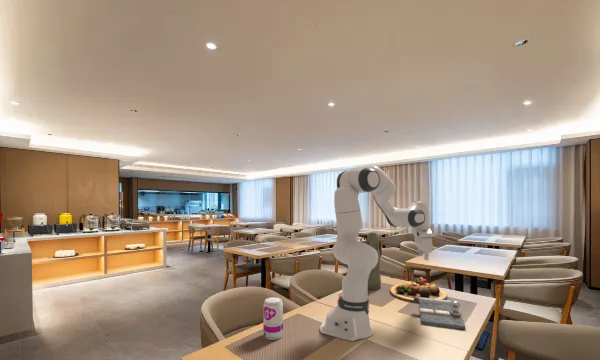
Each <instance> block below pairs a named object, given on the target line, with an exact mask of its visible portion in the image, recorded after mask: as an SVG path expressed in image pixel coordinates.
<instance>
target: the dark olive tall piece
mask: <svg viewBox="0 0 600 360" xmlns="http://www.w3.org/2000/svg"><path fill="white" fill-rule="evenodd" d="M363 243H365V244H368V245H369V246H371V247H373V248H374V249H375V250H376V251H377V253H378V263H377V265H376V266H375V267H374V268H373V269H372V270H371V272H370V274H369V278H368V290H373V291H378V290H381V289H382V287H381V285H382V277H381V274H380V273H381V270H380V269H381V267H380V265H381V264H380V262H381V257H382V255H383V250H382V247H383V245H382V244H383V243H382V241H381V240H380V237H379V234H378V233H377V232H369V233H368V234H367V236H366V240H365V241H364V242H363Z"/></svg>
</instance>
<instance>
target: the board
mask: <svg viewBox="0 0 600 360" xmlns="http://www.w3.org/2000/svg"><path fill="white" fill-rule="evenodd" d="M419 312H420V314H419V315H420V323H421V325H425V326H433V327H440V328H447V329H448V328H449V329H454V330H455V329H456V330H461V331H466V325H465V322H464V320H463V317H462V315H463V313H462V312H461V311H460V307H454V306H450V305H442V304H433V303H424V302H420V303H419Z"/></svg>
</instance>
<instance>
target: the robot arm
mask: <svg viewBox="0 0 600 360" xmlns="http://www.w3.org/2000/svg"><path fill="white" fill-rule="evenodd" d="M396 190H397V188H396V184H395V183H394V181H393V180H392V179H391V178H390V176H389V175H388V174H387V173H386V172H385V171H384V170H382V169H381V168H380V167H378V166H377V165H369V166H367V167H364V168H353V169H349V170H344V171H341V172H340V173H339V174H338V175H337V178H336V189H335V191H334V197H333V198H334V199H333V202H334V204H333V205H334V214H335V219H336V226H337V227H336V229H337V233H336V235H337V236H336V242H335V243H334V244H333V246H332V254H333V257H334V258H335V259H336V260H338V261H339V262H340V263H342V264H345V265H347V273H346V275H345V276H344V277H343V278H342V280H341V288H342V289H341V290H342V291H341V293H342V294H340V295H339V296H338V299H337V305H336V306H335V307H334V308H332V309H331V310H329V311H328V312H327V314H326V316H325V320H324V321H323V322H322V323H321V324H320V326H319V327H320V328H319V331H320V333H321V334H324V335H328V336H331V337H334V338H338V339H342V340H345V341H349V342H356V341H358V340H362V339H363V340H364V339H367V338H369V337H371V336H372V335H373V330H372V325H371V322H370V314H369V312H370V300H369V296H368V294H369V293H368V290H369V289H368V278H369V274H370V272H371V270H372V269H373V268H374V267H375V266H376V265H377V263H378V253H377V251H376V250H375V249H374V248H373V247H371V246H369V245H368V244H365V243H364V242H360V241H359V235H360V231H361V230H362V229H363V219H362V212H361V206H360V202H359V195H360V194H362V193H372V195H373V200H374V202H375V203H376V205H377V207H378V208H379V210H381V212H382V213H383V215H384V217H385V219H386V222H387V223H388V225H390V226H391V227H393V228H398V227H401V228H412V235H413V236H414V246H415V247H416V248H417V251H418V255H419V257H423V259H424V260H425V261H429V256H430V254H431V253H432V252H433V237H434V233H433V232H432V230H431V224H430V210H429V206H428V203H427V202H425V201H422V200H421V201H420V200H413V201H411V205H410V206H408V207H407V208H399V207H394V206H393V204H391V202H390V200H391V199H393V197H394V195H395V194H396Z"/></svg>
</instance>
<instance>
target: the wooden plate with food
mask: <svg viewBox="0 0 600 360" xmlns="http://www.w3.org/2000/svg"><path fill="white" fill-rule="evenodd" d="M389 292H390V294H391V296H393V297H394V298H396V299H398V300H401V301H404V302H409V303H414V304H420V302H414V296H415V297H422V298H431V299H440V300H448V299H447V298H448V294H447V292H445V291H444V289H441V288H439V286H438V285H437V284H435V283H432V284H431V283H429V282H425V279H424V278H423V277H422V276H419V277H418V278H416V279H415V282H413V281H411V280H410V281H406V282H405V283H399V284H395V285H393V286H391V287H390V289H389Z"/></svg>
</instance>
